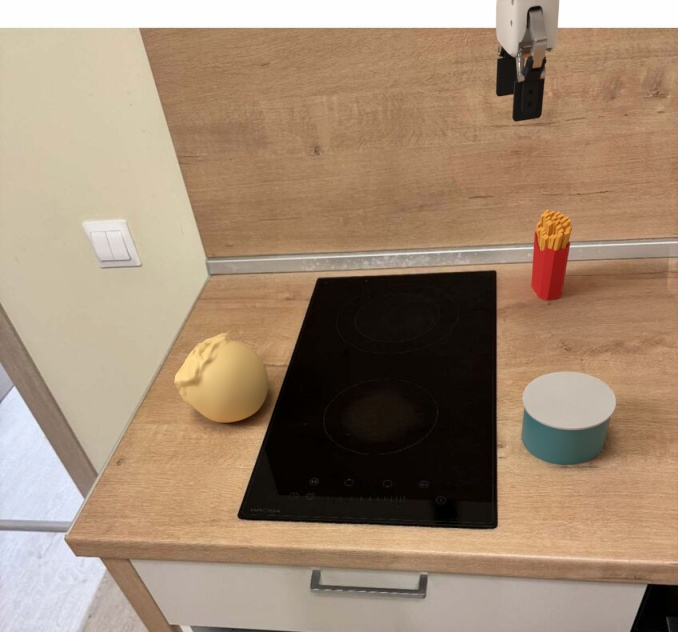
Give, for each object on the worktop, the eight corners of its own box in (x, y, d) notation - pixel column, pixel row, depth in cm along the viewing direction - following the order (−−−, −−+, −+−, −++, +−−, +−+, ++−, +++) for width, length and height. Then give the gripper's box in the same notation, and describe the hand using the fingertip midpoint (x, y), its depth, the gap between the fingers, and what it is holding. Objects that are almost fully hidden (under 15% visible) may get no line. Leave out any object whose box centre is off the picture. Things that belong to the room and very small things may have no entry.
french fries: (526, 280, 103) (532, 208, 95) (550, 275, 103) (558, 204, 95) (543, 306, 97) (551, 232, 89) (568, 301, 97) (578, 227, 89)
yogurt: (593, 415, 79) (603, 367, 74) (614, 472, 72) (627, 424, 67) (512, 421, 80) (516, 375, 75) (525, 478, 73) (530, 431, 68)
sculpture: (217, 378, 96) (196, 318, 89) (286, 387, 92) (270, 325, 85) (180, 426, 89) (153, 365, 82) (252, 438, 85) (231, 376, 78)
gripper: (593, -84, 55) (569, 124, 68) (546, -99, 67) (532, 81, 80) (509, -69, 56) (499, 135, 68) (476, -86, 68) (473, 90, 80)
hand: (517, 106), depth 74 cm, fingers open, 9 cm apart
